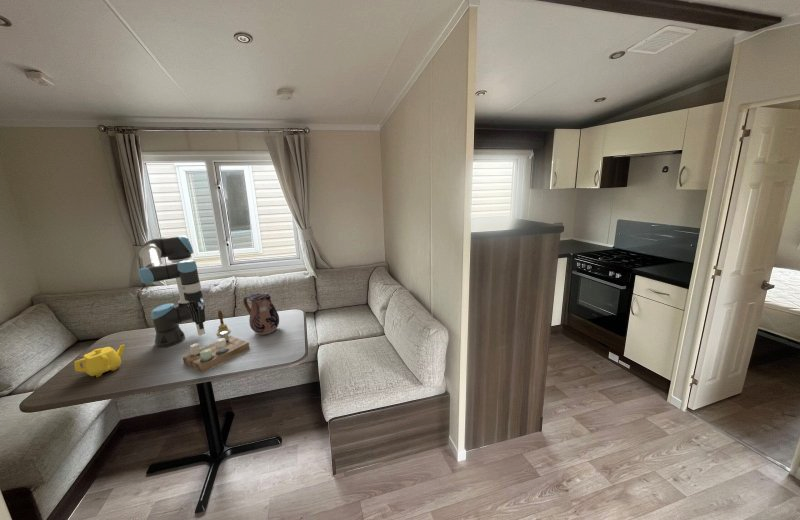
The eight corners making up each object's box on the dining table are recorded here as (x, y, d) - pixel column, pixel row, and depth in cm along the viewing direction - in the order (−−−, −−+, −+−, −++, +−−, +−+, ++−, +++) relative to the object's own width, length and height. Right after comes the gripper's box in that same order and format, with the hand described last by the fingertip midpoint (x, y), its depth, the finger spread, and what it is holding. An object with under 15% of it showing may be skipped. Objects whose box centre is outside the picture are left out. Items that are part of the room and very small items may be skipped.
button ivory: (214, 348, 162) (212, 341, 161) (223, 343, 166) (222, 337, 165) (219, 350, 160) (217, 343, 159) (228, 345, 164) (227, 339, 163)
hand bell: (233, 331, 197) (229, 308, 193) (222, 336, 190) (217, 313, 186) (225, 329, 200) (221, 307, 197) (213, 334, 193) (208, 311, 189)
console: (183, 363, 161) (182, 356, 160) (230, 341, 183) (229, 335, 182) (202, 372, 152) (201, 365, 151) (249, 348, 173) (248, 342, 172)
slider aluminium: (221, 340, 175) (219, 333, 174) (226, 338, 178) (224, 330, 176) (224, 341, 174) (222, 334, 173) (229, 339, 176) (227, 331, 175)
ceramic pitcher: (274, 337, 185) (268, 300, 179) (240, 339, 186) (233, 301, 180) (284, 325, 202) (279, 290, 196) (254, 326, 203) (248, 291, 197)
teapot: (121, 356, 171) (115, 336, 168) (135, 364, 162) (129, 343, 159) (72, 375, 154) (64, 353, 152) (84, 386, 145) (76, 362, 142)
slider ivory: (191, 354, 162) (189, 345, 161) (197, 351, 164) (195, 343, 163) (194, 355, 160) (192, 347, 159) (200, 352, 163) (198, 344, 162)
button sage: (199, 359, 156) (197, 352, 155) (209, 354, 160) (207, 348, 159) (204, 361, 153) (203, 354, 153) (214, 356, 158) (213, 350, 157)
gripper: (177, 291, 148) (187, 334, 154) (191, 295, 142) (200, 340, 147) (193, 287, 154) (202, 328, 160) (207, 290, 148) (216, 333, 154)
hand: (201, 334), depth 154 cm, fingers closed
